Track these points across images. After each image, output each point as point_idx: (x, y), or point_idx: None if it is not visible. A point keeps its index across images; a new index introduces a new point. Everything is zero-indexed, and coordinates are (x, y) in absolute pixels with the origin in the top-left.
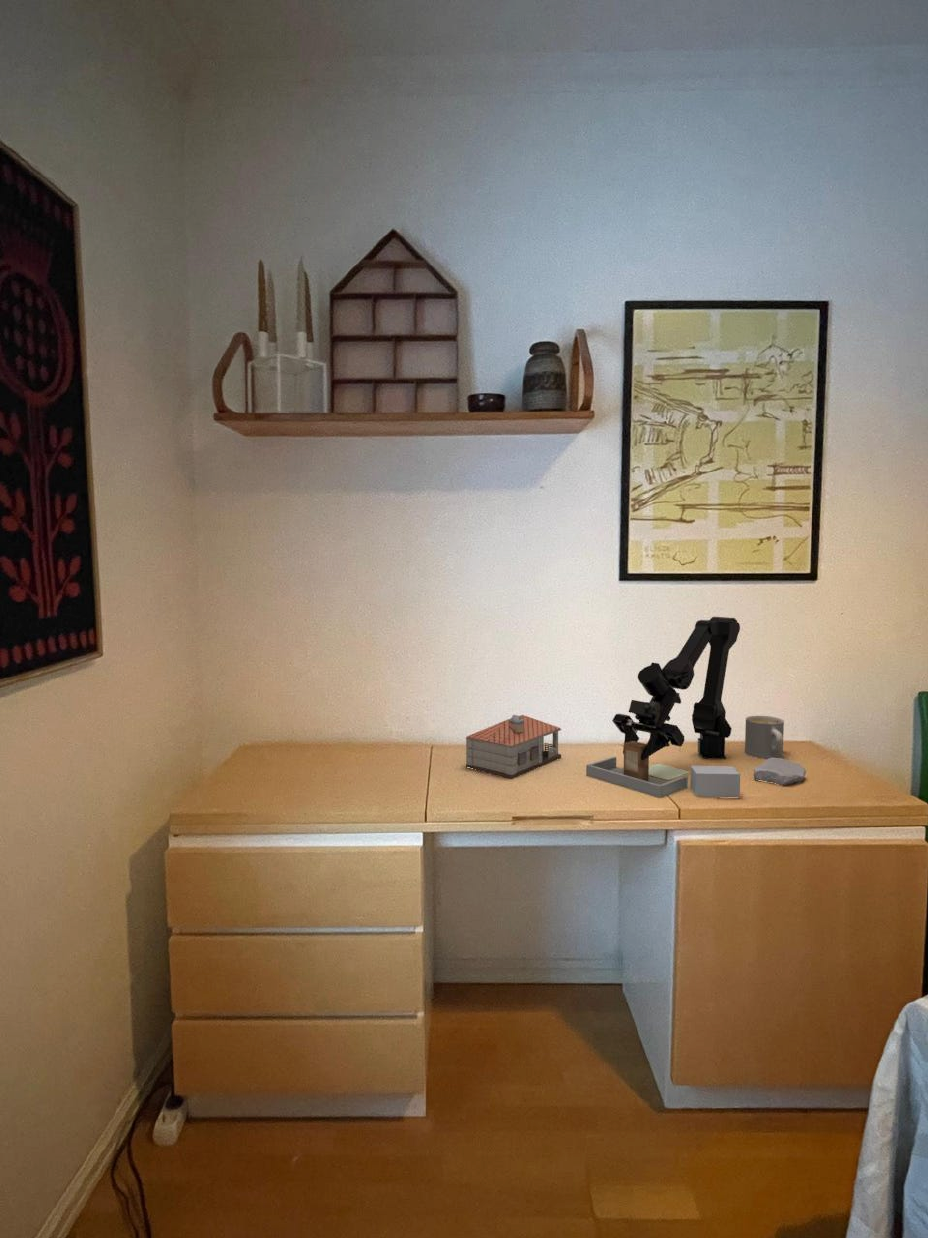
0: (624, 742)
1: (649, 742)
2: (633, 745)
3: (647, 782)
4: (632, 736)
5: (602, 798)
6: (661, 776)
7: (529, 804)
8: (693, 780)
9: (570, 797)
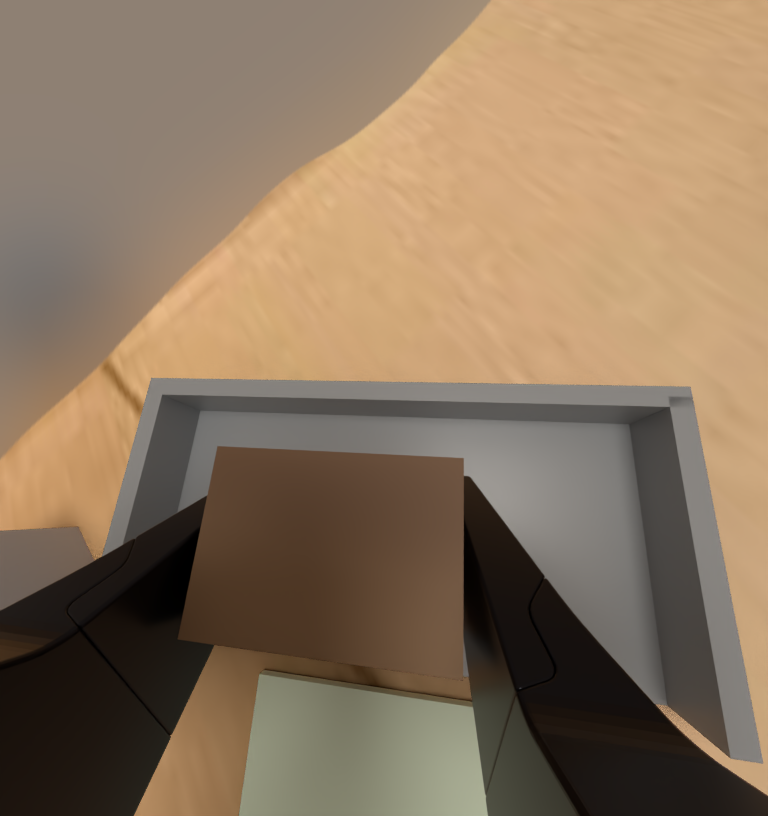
0: (525, 555)
1: (102, 584)
2: (315, 457)
3: (223, 382)
4: (510, 781)
5: (371, 247)
6: (317, 719)
7: (511, 51)
8: (25, 588)
9: (465, 173)
